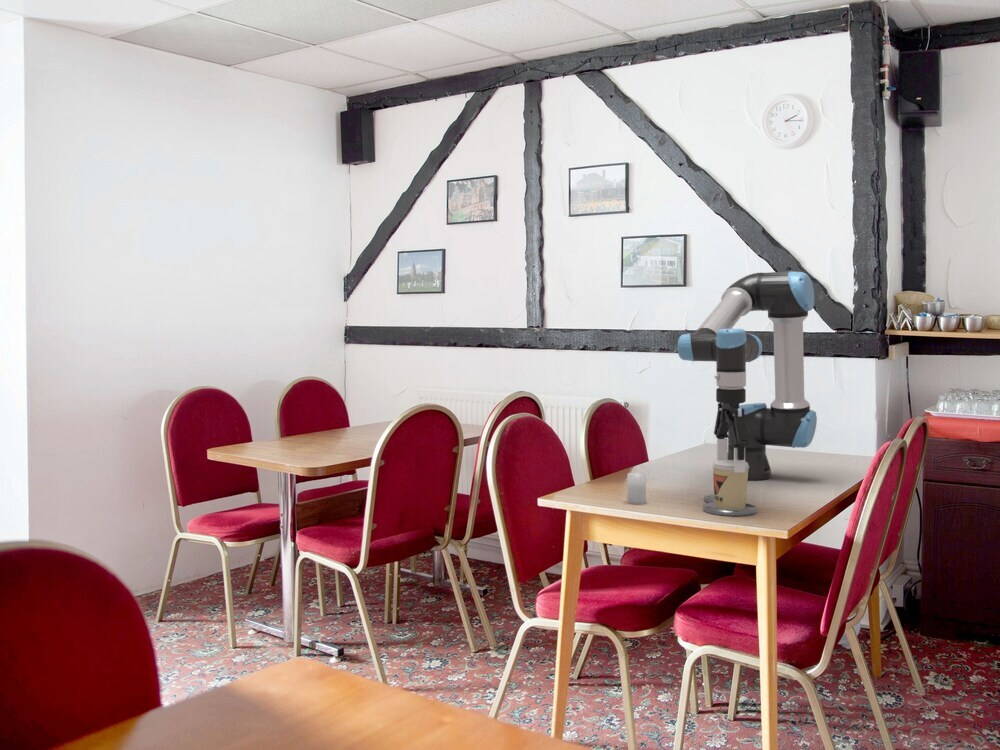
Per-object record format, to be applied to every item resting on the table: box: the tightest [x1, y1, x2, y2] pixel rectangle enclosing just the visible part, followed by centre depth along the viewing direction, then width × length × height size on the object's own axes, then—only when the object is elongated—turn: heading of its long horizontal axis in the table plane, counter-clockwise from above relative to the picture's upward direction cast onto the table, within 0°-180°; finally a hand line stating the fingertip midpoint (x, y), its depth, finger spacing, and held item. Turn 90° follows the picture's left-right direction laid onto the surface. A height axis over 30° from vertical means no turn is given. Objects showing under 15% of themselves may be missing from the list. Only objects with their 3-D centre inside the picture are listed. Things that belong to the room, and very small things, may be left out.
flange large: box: [702, 502, 758, 517], centre depth 245 cm, size 14×14×1 cm
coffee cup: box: [712, 460, 749, 511], centre depth 243 cm, size 9×9×12 cm
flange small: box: [703, 494, 715, 503], centre depth 257 cm, size 8×8×1 cm
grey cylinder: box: [627, 471, 647, 505], centre depth 256 cm, size 5×5×8 cm
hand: (730, 467), depth 244 cm, fingers open, 13 cm apart
